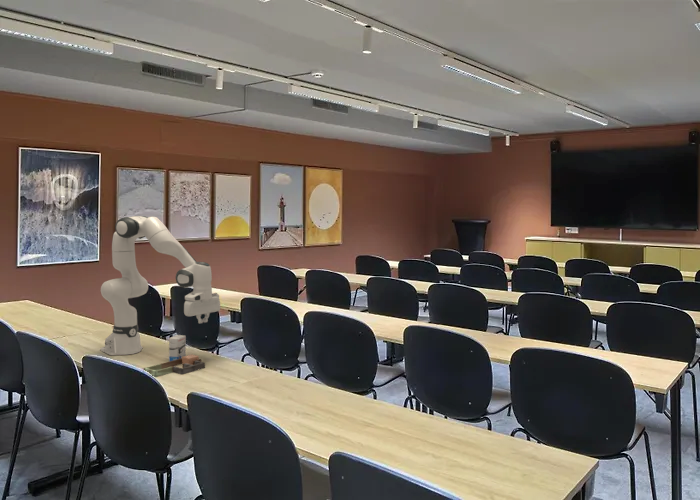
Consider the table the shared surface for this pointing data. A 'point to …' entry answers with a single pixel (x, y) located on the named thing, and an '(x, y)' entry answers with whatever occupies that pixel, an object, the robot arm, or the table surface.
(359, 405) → the table surface
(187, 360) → the block
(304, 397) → the table surface
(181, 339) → the ink box
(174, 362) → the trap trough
